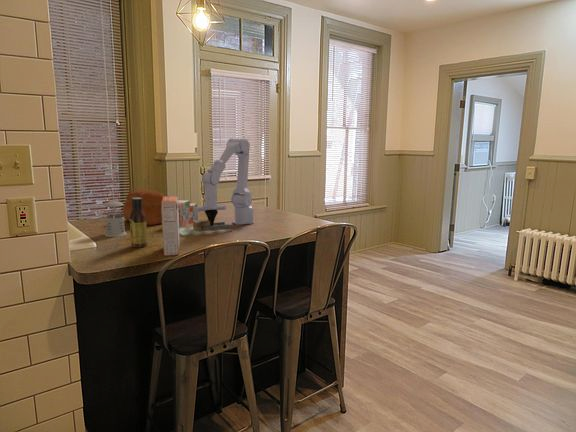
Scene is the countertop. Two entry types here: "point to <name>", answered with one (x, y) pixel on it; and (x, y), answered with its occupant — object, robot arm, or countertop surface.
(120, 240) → the countertop surface
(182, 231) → the chute board
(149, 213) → the bread
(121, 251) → the countertop surface
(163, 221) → the cracker box
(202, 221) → the walnut block
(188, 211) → the stack of blocks
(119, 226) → the french press
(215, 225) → the channel rails
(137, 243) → the sauce bottle
